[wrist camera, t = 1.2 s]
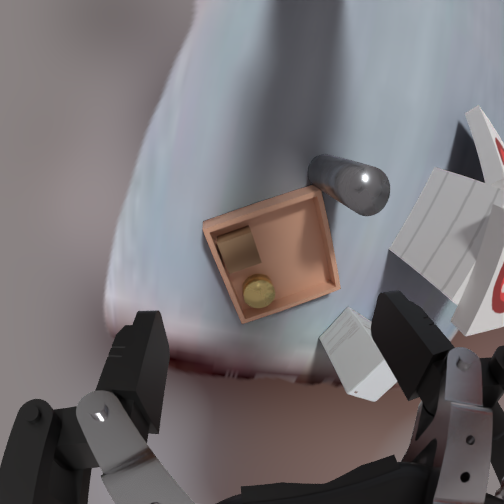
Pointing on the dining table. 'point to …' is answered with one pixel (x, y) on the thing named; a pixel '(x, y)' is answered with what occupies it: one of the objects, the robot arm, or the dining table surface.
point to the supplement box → (357, 356)
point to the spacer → (350, 183)
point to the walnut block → (238, 249)
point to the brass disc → (258, 291)
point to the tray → (281, 250)
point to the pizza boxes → (463, 234)
